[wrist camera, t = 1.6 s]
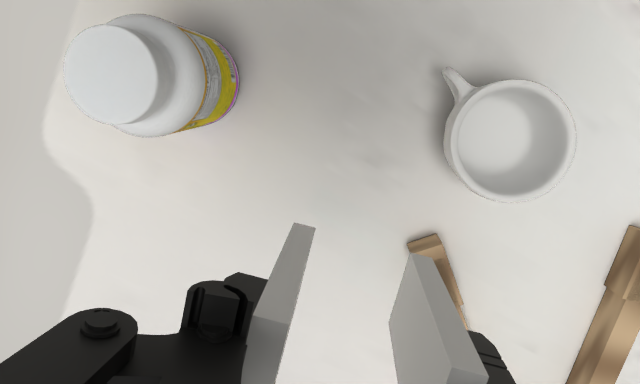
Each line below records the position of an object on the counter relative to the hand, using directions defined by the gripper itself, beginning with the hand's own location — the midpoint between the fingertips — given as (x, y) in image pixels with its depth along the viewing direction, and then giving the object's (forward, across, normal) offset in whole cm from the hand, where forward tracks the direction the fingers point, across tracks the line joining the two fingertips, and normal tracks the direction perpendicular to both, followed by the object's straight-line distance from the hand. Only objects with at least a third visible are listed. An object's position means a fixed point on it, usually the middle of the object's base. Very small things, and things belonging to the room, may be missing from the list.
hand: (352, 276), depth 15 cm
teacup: (+20, +8, +6) cm, 22 cm away
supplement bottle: (+20, -13, +4) cm, 24 cm away
